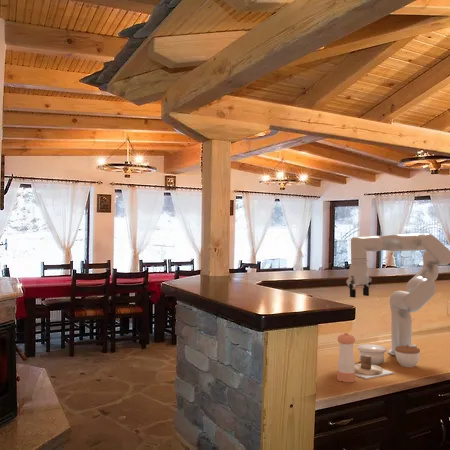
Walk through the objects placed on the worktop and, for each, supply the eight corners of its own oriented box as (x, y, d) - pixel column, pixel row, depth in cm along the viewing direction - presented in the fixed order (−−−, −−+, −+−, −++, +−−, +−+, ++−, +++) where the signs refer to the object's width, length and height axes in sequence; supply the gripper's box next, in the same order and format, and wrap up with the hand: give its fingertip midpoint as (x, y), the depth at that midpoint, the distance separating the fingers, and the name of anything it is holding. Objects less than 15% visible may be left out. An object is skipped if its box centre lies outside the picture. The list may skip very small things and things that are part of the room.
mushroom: (370, 357, 237) (370, 343, 237) (392, 363, 226) (392, 348, 226) (351, 361, 230) (351, 346, 230) (373, 367, 219) (373, 351, 219)
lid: (364, 364, 221) (364, 351, 221) (389, 372, 209) (389, 357, 210) (342, 369, 214) (342, 354, 214) (367, 376, 202) (367, 361, 202)
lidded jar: (408, 369, 216) (408, 348, 216) (390, 364, 225) (390, 343, 225) (425, 366, 221) (425, 346, 221) (406, 361, 230) (406, 341, 230)
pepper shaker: (341, 376, 205) (341, 330, 205) (357, 379, 201) (357, 332, 201) (334, 380, 199) (334, 333, 199) (351, 383, 195) (351, 335, 195)
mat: (365, 365, 223) (365, 363, 223) (394, 373, 209) (394, 372, 209) (338, 370, 214) (338, 368, 214) (366, 379, 200) (366, 378, 200)
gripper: (364, 260, 249) (365, 294, 249) (341, 262, 239) (341, 297, 239) (376, 261, 243) (377, 295, 242) (352, 262, 233) (353, 298, 233)
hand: (359, 296), depth 241 cm, fingers open, 9 cm apart
